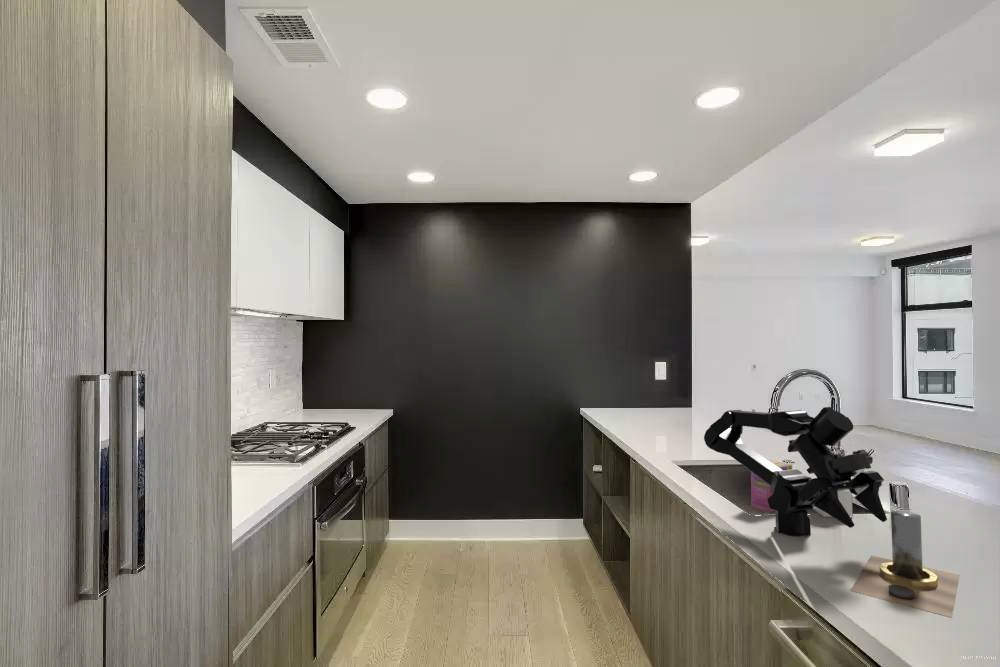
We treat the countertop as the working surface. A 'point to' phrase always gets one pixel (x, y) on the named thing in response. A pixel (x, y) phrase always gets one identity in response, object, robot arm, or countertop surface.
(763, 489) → the box
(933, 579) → the brass ring
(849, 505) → the medicine bottle
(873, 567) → the board
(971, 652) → the countertop surface
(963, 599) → the countertop surface
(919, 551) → the steel peg
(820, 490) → the robot arm
